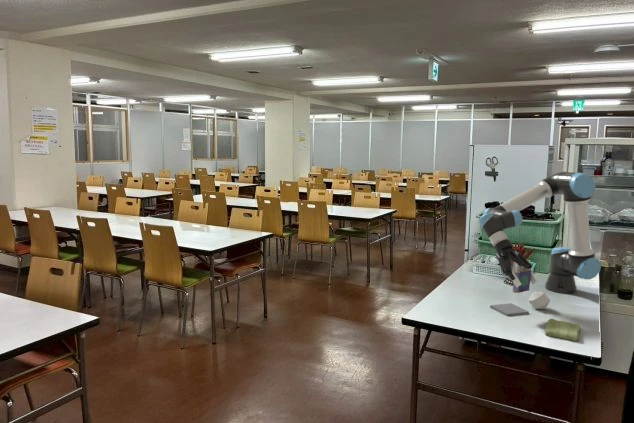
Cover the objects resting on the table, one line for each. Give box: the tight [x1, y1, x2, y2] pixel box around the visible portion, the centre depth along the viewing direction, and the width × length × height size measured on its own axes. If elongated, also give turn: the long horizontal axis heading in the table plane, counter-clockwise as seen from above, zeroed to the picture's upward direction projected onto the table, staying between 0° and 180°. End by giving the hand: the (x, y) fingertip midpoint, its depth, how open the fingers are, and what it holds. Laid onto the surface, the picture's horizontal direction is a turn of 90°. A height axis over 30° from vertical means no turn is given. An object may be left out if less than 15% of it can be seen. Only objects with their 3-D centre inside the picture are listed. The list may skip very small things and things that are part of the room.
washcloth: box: [544, 318, 582, 342], centre depth 194 cm, size 13×18×3 cm
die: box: [528, 291, 551, 310], centre depth 222 cm, size 8×9×10 cm
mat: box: [489, 302, 530, 317], centre depth 219 cm, size 12×12×1 cm
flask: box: [512, 266, 532, 294], centre depth 210 cm, size 10×3×12 cm, turn 118°
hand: (527, 284), depth 208 cm, fingers closed on flask, 10 cm apart
